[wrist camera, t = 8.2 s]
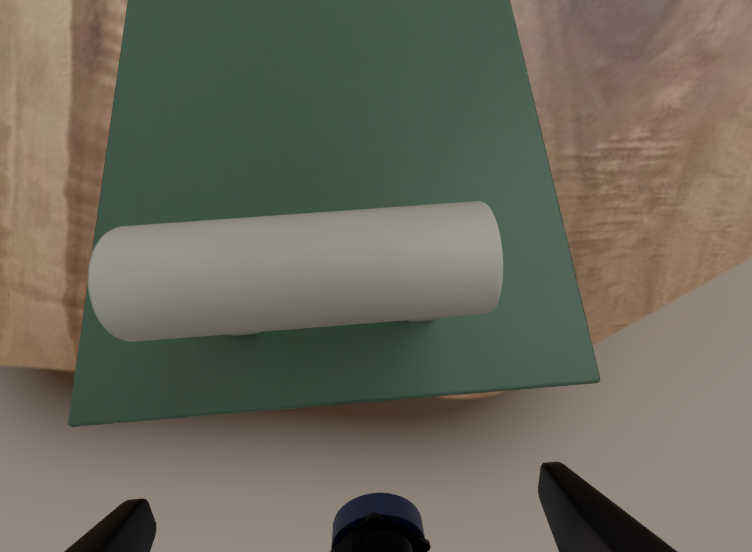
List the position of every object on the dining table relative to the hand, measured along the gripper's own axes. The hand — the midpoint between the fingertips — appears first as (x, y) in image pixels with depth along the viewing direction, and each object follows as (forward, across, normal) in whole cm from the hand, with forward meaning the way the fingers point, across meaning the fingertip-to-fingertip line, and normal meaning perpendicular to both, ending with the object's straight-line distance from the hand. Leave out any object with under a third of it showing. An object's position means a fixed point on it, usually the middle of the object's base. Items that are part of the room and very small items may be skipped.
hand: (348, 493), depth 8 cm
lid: (+4, 0, -7) cm, 8 cm away
